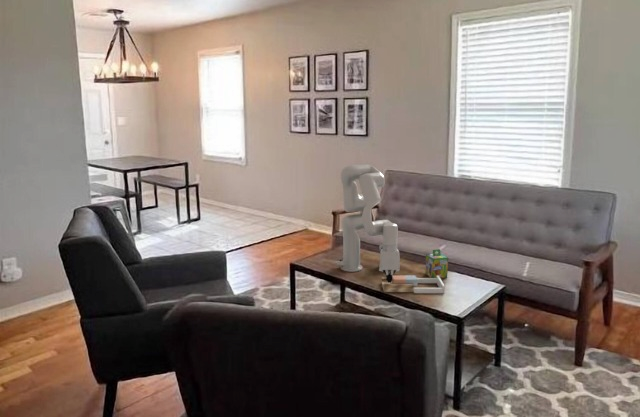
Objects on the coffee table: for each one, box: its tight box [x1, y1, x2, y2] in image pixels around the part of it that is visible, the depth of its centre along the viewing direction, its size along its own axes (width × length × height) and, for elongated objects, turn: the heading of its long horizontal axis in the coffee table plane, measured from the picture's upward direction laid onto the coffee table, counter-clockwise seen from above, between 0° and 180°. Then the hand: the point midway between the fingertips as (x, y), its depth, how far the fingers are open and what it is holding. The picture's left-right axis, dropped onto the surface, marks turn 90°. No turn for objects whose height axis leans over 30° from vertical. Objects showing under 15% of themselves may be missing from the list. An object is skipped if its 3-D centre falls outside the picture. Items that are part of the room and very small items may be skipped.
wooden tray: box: [381, 276, 415, 293], centre depth 259 cm, size 15×12×4 cm
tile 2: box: [404, 274, 419, 287], centre depth 259 cm, size 6×6×4 cm
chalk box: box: [424, 248, 449, 279], centre depth 275 cm, size 9×9×15 cm
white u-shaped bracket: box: [413, 275, 446, 294], centre depth 259 cm, size 15×15×4 cm
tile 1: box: [392, 275, 406, 284], centre depth 259 cm, size 6×6×4 cm
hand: (389, 281), depth 259 cm, fingers closed
